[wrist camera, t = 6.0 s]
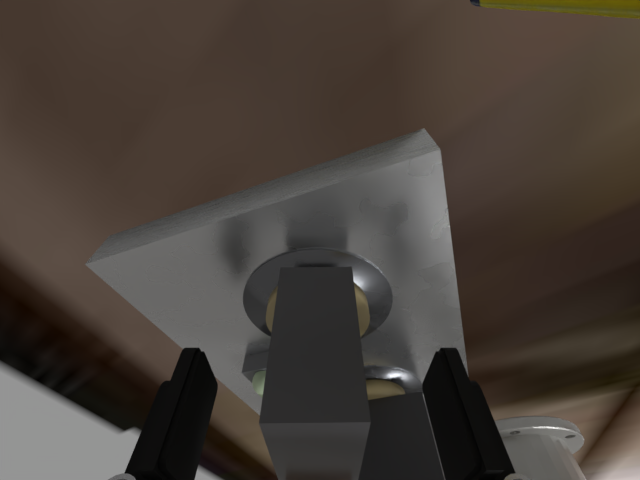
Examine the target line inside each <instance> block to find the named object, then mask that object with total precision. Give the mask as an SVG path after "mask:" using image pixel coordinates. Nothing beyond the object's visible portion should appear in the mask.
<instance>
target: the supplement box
mask: <svg viewBox="0 0 640 480" xmlns="http://www.w3.org/2000/svg"><path fill="white" fill-rule="evenodd" d="M470 2H471V4H472V5H474V6H480V7H487V8H500V9H510V10H511V9H512V10H528V11H547V12H558V13H572V14H585V15H598V16H607V17H618V18H636V19H640V0H470Z"/></svg>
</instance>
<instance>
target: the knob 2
mask: <svg viewBox="0 0 640 480" xmlns="http://www.w3.org/2000/svg"><path fill="white" fill-rule="evenodd" d="M366 387H367V395H368V404H369V412H370V420H371V423H370V428H369V433H368V437H367V442H366V446H365V451H364V456H363V460H362V465H361V469H360V474H359V479H358V480H445V476H444V472H443V468H442V464H441V461H440V457H439V453H438V449H437V445H436V441H435V437H434V433H433V429H432V426H431V422H430V418H429V414H428V410H427V406H426V403H425V400H424V397H423V394H422V391H421V392H414V393H408V394H405V391H404V389H403V388H402V387H401V386H400V385H398V384H396V383H393V382H390V381H386V380H376V379H370V380H366Z"/></svg>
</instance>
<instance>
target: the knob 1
mask: <svg viewBox="0 0 640 480" xmlns="http://www.w3.org/2000/svg"><path fill="white" fill-rule="evenodd" d="M369 322H370V314H369V308H368V302H367V298H366V295H365V293H364V292H363V290H362V289H361V288H360V287H359V286H358V285H357V284H355V283H354V279H353V271H352V267H280V274H279V281H278V286H277V287H276V288H275V289H274V290H273V291H272V293H271V295H270V297H269V300H268V305H267V312H266V324H267V327H268V329H269V331H270V332H271V339H270V347H269V354H268V361H267V368H266V376H265V383H264V390H263V397H262V404H261V412H260V419H259V425H260V428H261V431H262V434H263V437H264V440H265V443H266V446H267V448H268V451H269V454H270V457H271V460H272V463H273V466H274V469H275V472H276V475H277V478H278V480H358V479H359V474H360V469H361V465H362V460H363V456H364V451H365V446H366V442H367V437H368V433H369V428H370V423H371V420H370V412H369V404H368V395H367V387H366V379H365V370H364V362H363V354H362V346H361V336H362V335H363V334H364V333H365V331H366V330H367V328H368V326H369Z"/></svg>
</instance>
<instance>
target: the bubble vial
mask: <svg viewBox="0 0 640 480" xmlns="http://www.w3.org/2000/svg"><path fill="white" fill-rule="evenodd" d="M268 354H269V351H268V352H263V353H259V354H254V355H249V356H245V358H244V363H243V368H242V374H243V375H244V376H245V377H246V378H247V379H248V380H249V381H250V382H251V383H252V386H253V389H254V390H255V392H256V393H257V394H258V395H259V396H260V397H261V398H262V397H263V390H264V383H265V376H266V368H267V361H268Z"/></svg>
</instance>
